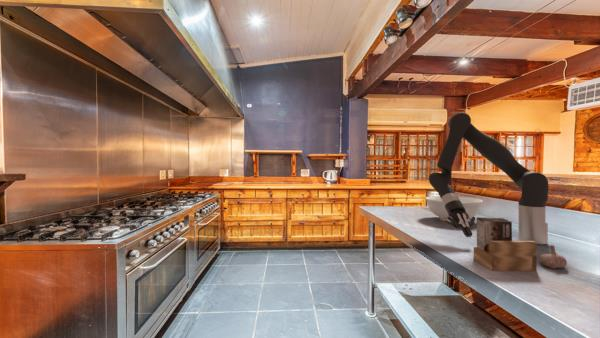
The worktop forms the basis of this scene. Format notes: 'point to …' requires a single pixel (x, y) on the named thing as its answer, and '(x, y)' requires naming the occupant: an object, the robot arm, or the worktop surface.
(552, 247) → the garlic bulb
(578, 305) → the worktop surface
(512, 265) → the holder
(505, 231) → the coffee box
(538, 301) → the worktop surface
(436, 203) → the bowl
